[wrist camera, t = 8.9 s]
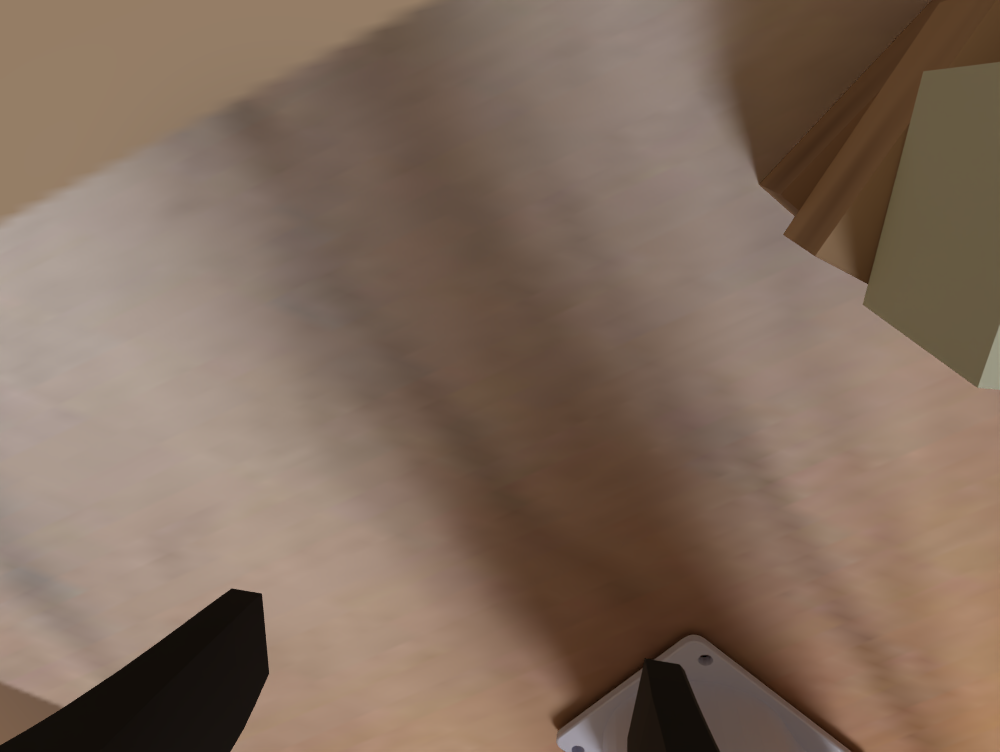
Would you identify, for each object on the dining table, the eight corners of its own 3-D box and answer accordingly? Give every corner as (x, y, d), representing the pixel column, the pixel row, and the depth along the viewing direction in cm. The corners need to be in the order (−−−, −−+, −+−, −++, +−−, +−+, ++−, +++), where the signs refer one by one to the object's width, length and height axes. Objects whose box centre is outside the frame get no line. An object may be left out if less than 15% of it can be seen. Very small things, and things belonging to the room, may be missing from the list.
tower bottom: (1075, 148, 16) (1154, 154, 14) (895, 306, 19) (938, 334, 16) (926, 2, 16) (984, -18, 13) (756, 183, 18) (780, 194, 15)
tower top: (1158, 123, 14) (1273, 125, 11) (973, 335, 16) (1038, 374, 14) (939, 2, 14) (1010, -21, 11) (783, 234, 16) (815, 256, 13)
